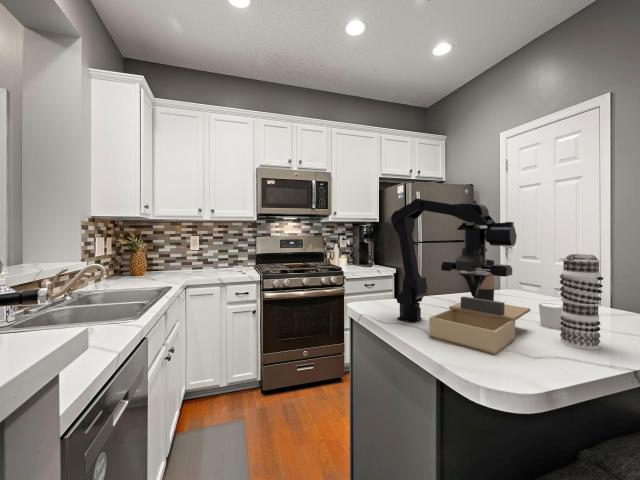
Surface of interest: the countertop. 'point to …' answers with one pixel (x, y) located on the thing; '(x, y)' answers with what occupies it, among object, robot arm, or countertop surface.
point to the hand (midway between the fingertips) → (474, 296)
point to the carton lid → (490, 308)
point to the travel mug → (487, 285)
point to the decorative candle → (580, 301)
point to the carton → (472, 330)
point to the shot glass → (550, 315)
